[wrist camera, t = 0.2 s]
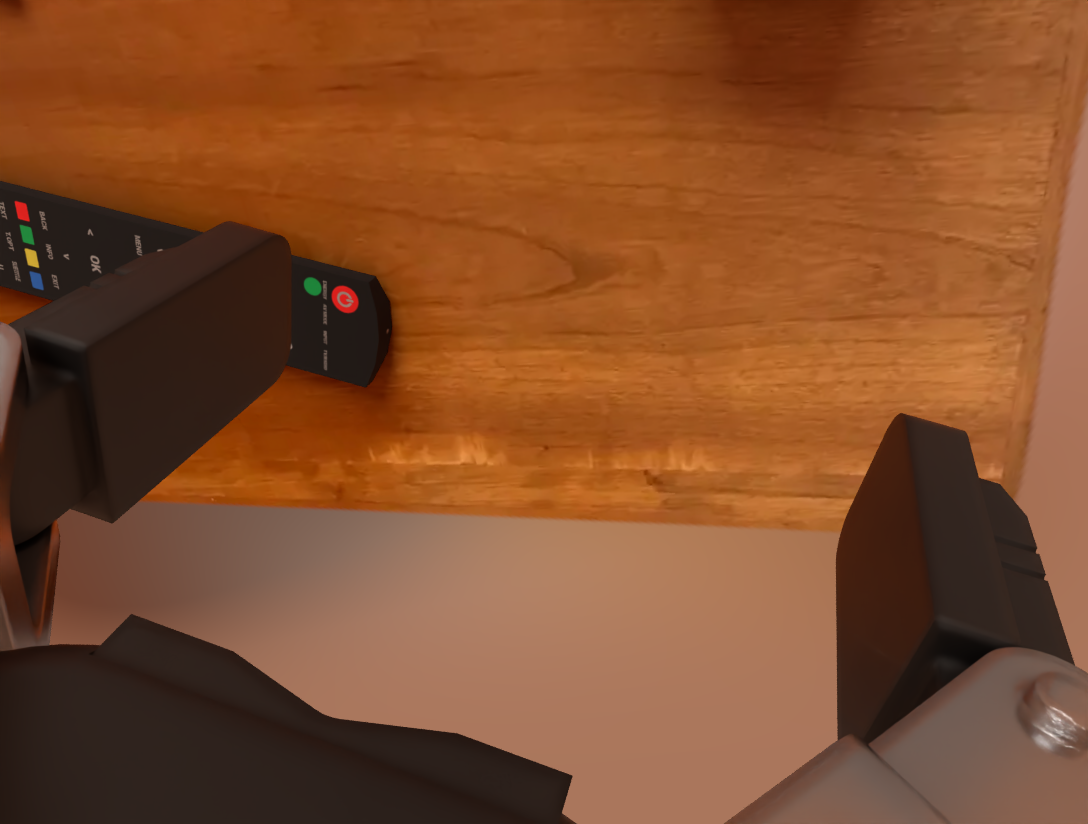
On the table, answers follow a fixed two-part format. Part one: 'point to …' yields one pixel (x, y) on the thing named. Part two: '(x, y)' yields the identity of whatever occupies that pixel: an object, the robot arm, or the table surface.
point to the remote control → (118, 238)
